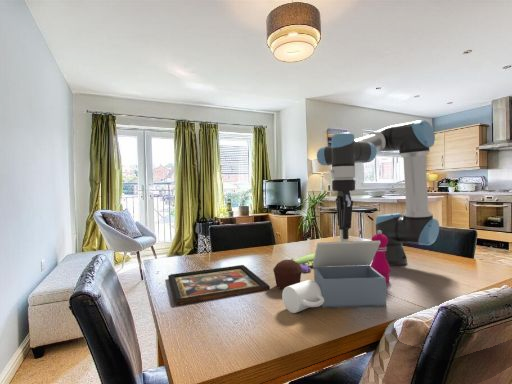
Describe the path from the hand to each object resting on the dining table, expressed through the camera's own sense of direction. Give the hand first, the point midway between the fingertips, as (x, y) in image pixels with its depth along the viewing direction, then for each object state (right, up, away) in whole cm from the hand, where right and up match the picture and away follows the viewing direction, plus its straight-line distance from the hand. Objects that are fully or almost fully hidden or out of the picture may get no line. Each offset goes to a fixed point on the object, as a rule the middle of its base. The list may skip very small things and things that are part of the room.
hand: (344, 247), depth 100 cm
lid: (0, -3, +1) cm, 3 cm away
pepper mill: (+19, -16, +16) cm, 30 cm away
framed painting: (-47, -19, +18) cm, 54 cm away
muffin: (-18, -18, +12) cm, 28 cm away
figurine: (-2, -17, +39) cm, 42 cm away
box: (+1, -17, -1) cm, 17 cm away
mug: (-15, -18, -9) cm, 25 cm away
